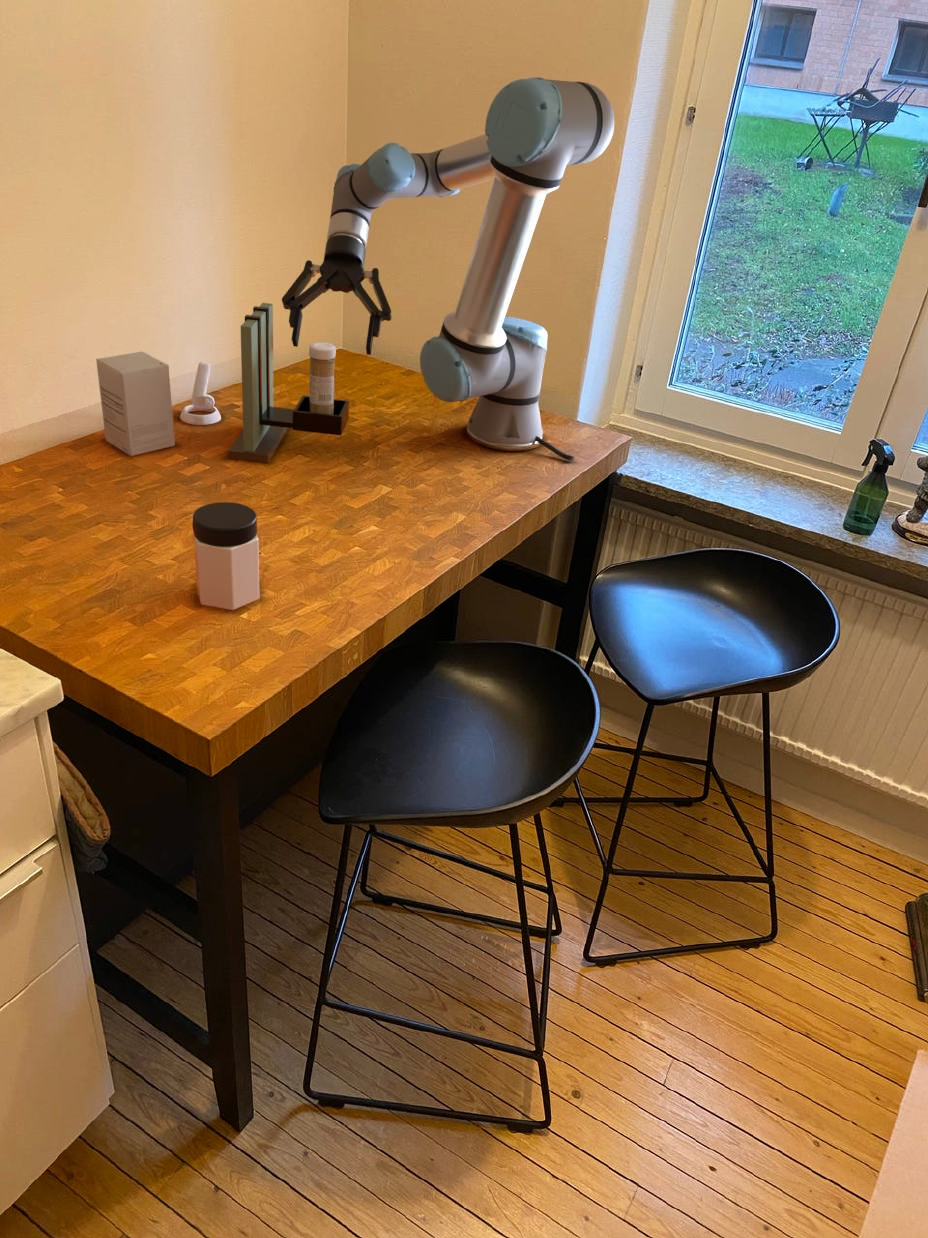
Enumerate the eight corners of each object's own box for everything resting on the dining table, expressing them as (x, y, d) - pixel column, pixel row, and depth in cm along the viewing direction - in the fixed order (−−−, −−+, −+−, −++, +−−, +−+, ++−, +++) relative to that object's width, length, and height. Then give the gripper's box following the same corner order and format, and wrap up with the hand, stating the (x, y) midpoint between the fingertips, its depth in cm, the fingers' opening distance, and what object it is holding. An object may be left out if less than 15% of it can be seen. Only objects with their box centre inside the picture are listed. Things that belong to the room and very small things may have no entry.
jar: (235, 572, 133) (232, 495, 127) (273, 594, 129) (272, 516, 123) (182, 593, 127) (176, 513, 121) (219, 617, 123) (216, 536, 117)
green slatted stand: (287, 428, 181) (287, 304, 168) (267, 462, 166) (266, 329, 154) (251, 424, 181) (249, 300, 168) (228, 458, 166) (223, 324, 154)
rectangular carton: (149, 430, 173) (143, 349, 165) (176, 446, 168) (170, 364, 160) (103, 440, 167) (94, 357, 159) (129, 457, 162) (121, 372, 155)
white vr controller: (226, 378, 186) (230, 368, 179) (216, 436, 185) (220, 428, 178) (187, 368, 184) (190, 358, 177) (177, 428, 183) (179, 419, 176)
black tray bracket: (348, 418, 175) (352, 315, 165) (341, 435, 167) (344, 329, 157) (257, 408, 174) (255, 304, 164) (246, 424, 167) (243, 317, 157)
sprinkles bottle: (334, 415, 173) (336, 342, 166) (333, 424, 169) (335, 349, 162) (308, 413, 172) (309, 340, 165) (308, 422, 168) (309, 348, 161)
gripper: (412, 264, 181) (399, 364, 176) (283, 249, 180) (267, 349, 175) (411, 240, 173) (398, 343, 169) (277, 225, 173) (260, 328, 168)
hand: (331, 347), depth 172 cm, fingers open, 13 cm apart
